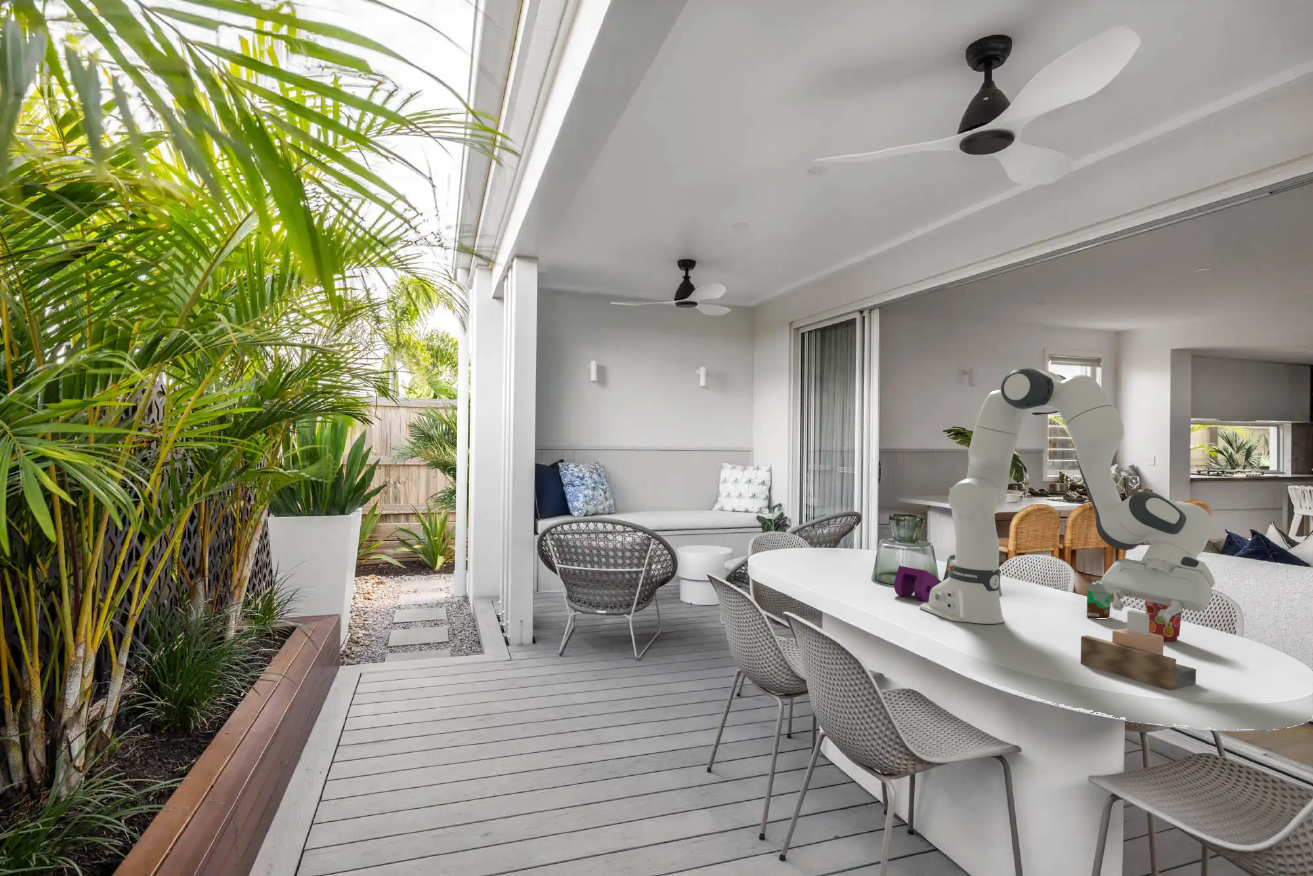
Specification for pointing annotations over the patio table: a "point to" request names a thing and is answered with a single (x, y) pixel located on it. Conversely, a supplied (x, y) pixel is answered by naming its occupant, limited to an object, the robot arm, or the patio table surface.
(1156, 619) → the smoothie
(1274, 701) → the patio table surface
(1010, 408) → the robot arm
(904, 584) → the mounting bracket
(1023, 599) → the patio table surface
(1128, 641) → the peach box
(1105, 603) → the food container
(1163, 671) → the wall board
